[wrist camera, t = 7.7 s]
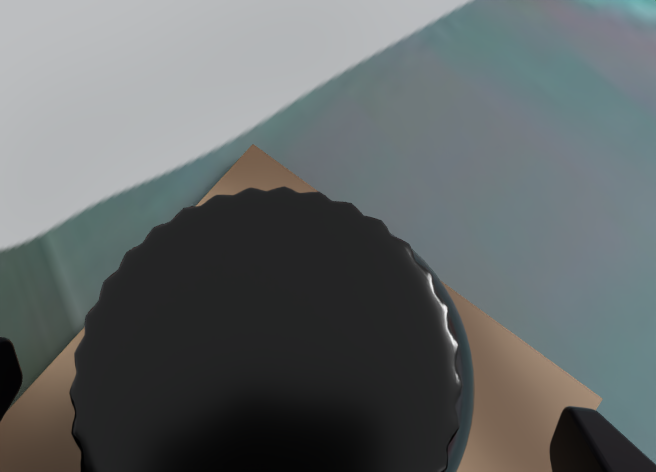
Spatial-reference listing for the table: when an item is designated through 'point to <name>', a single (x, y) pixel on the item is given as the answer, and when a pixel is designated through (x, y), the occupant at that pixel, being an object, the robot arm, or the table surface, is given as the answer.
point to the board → (487, 355)
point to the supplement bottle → (273, 347)
